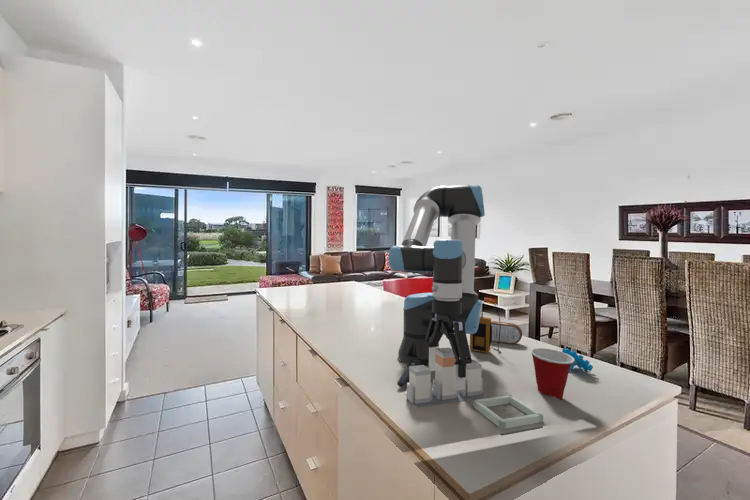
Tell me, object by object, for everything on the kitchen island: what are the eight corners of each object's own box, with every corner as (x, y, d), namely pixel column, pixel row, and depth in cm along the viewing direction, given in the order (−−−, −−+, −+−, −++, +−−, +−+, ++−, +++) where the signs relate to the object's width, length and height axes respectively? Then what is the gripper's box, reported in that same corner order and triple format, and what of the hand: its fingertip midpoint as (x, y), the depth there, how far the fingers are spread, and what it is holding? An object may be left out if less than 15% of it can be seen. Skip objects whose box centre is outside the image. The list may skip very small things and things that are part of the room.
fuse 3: (459, 390, 98) (459, 361, 98) (472, 388, 100) (473, 359, 99) (467, 396, 94) (468, 366, 94) (481, 394, 96) (481, 364, 95)
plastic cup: (572, 410, 91) (573, 362, 90) (526, 399, 96) (527, 355, 96) (575, 394, 100) (576, 351, 99) (532, 385, 105) (533, 345, 105)
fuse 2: (434, 393, 96) (435, 348, 96) (448, 391, 97) (449, 347, 97) (442, 399, 92) (443, 353, 92) (456, 397, 93) (457, 352, 93)
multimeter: (504, 348, 142) (505, 298, 141) (498, 355, 133) (499, 301, 133) (468, 342, 150) (469, 294, 149) (460, 348, 141) (460, 298, 141)
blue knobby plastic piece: (600, 371, 114) (579, 349, 113) (590, 385, 112) (568, 363, 112) (575, 364, 124) (555, 343, 124) (565, 377, 123) (545, 357, 123)
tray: (473, 412, 89) (473, 400, 89) (510, 406, 92) (510, 394, 92) (501, 435, 78) (502, 422, 78) (542, 428, 82) (543, 414, 82)
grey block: (408, 396, 94) (409, 366, 93) (423, 394, 95) (423, 364, 95) (415, 403, 90) (415, 371, 90) (430, 401, 91) (430, 370, 91)
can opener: (410, 372, 116) (410, 355, 115) (431, 376, 112) (431, 359, 112) (386, 393, 100) (386, 373, 100) (410, 398, 97) (410, 378, 96)
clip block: (402, 399, 95) (403, 379, 95) (471, 390, 102) (471, 371, 102) (415, 413, 88) (415, 391, 88) (488, 402, 94) (488, 381, 94)
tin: (522, 344, 149) (522, 323, 149) (521, 346, 146) (522, 325, 146) (484, 339, 155) (484, 319, 155) (483, 341, 152) (483, 321, 152)
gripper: (414, 292, 105) (413, 364, 105) (459, 307, 81) (458, 401, 81) (437, 291, 107) (436, 362, 108) (488, 306, 83) (486, 397, 84)
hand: (445, 379), depth 95 cm, fingers open, 13 cm apart
